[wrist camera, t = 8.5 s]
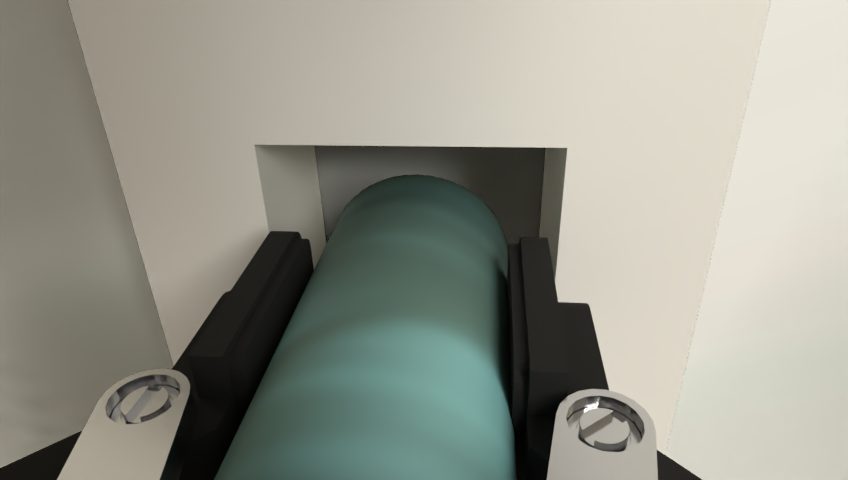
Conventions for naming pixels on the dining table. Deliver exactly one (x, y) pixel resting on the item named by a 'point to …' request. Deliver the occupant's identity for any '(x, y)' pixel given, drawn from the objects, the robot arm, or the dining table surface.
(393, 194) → the peg
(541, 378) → the robot arm
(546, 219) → the socket block
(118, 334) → the dining table surface
